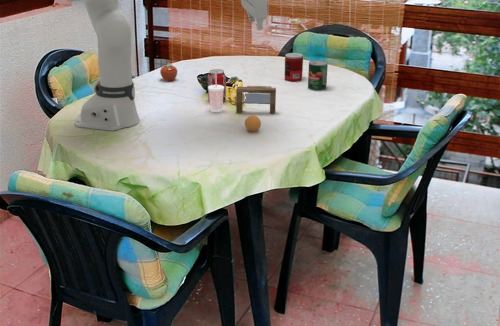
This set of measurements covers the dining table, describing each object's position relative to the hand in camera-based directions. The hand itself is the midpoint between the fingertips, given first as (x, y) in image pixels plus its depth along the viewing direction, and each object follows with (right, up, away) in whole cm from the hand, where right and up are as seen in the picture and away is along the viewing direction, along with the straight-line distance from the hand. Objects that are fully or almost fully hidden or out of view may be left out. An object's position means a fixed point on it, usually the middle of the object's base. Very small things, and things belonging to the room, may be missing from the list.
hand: (255, 25), depth 213 cm
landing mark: (+1, -22, +34) cm, 40 cm away
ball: (-1, -34, 0) cm, 34 cm away
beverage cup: (-15, -27, +21) cm, 38 cm away
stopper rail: (+2, -18, +42) cm, 45 cm away
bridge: (0, -28, +19) cm, 34 cm away
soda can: (-15, -23, +31) cm, 41 cm away
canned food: (+17, -11, +60) cm, 63 cm away
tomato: (-37, -11, +57) cm, 69 cm away
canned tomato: (+26, -16, +48) cm, 57 cm away
